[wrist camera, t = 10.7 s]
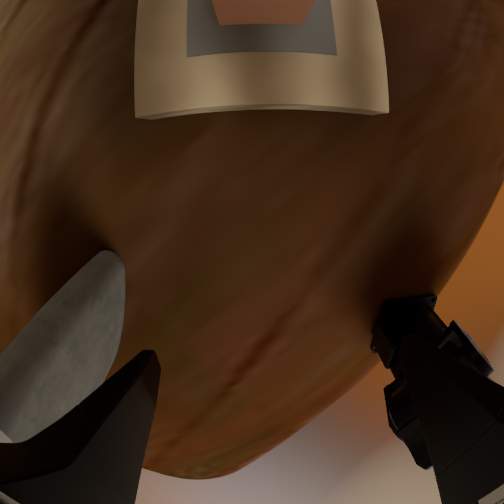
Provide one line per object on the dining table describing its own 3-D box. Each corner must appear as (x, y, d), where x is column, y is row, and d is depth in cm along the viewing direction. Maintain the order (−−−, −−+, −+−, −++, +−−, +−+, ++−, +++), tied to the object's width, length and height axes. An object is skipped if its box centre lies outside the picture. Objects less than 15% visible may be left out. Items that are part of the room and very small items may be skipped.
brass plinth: (348, -43, 11) (360, -60, 8) (370, 115, 17) (390, 112, 14) (157, -40, 11) (146, -57, 8) (151, 120, 17) (133, 117, 14)
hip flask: (97, 244, 21) (-62, 424, 3) (137, 261, 22) (0, 482, 3) (88, 359, 27) (24, 495, 8) (118, 373, 27) (64, 518, 9)
